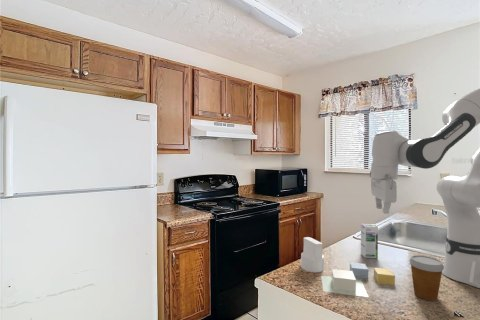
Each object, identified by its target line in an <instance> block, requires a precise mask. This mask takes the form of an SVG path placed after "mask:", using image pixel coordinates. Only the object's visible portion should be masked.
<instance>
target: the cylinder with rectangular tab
mask: <svg viewBox="0 0 480 320" xmlns="http://www.w3.org/2000/svg"><path fill="white" fill-rule="evenodd" d="M302 250H303V252H301V253H300V255H301V256H300V267H301V269H302V270H303V271H306V272H309V273H310V272H311V273H321V272H323V271H324V270H325V255H324V254H323V243H322V242H321V241H319V240H317V239H315V238H312V237H310V236H306V237H303V249H302Z"/></svg>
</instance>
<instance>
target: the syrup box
mask: <svg viewBox="0 0 480 320" xmlns="http://www.w3.org/2000/svg"><path fill="white" fill-rule="evenodd" d="M378 249H379V227H378V226H377V225H376V224H374V223H370V224H369V223H361V224H360V255H361V256H362V257H364V259H366V258H367V259H368V258H369V259H378V258H379V255H378V254H379V250H378Z"/></svg>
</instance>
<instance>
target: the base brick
mask: <svg viewBox="0 0 480 320" xmlns="http://www.w3.org/2000/svg"><path fill="white" fill-rule="evenodd" d="M331 277H332V284H333V289H337V290H345V291H353V292H356V280H357V279H356V277H355V276H354V274H353V271H350V270H345V269H336V268H335V269H334V268H331Z"/></svg>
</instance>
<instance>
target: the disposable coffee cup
mask: <svg viewBox="0 0 480 320" xmlns="http://www.w3.org/2000/svg"><path fill="white" fill-rule="evenodd" d="M408 261H409V265H410V269H411V277H412V285H413V286H412V287H413V294H414V295H415V296H416V297H418V298H420V299H422V300H426V301H432V302H433V301H437V300H438V296H439V293H440V285H441V279H442V275H443V273H442V271H443V269H444V266H443V265H444V264H443V261H441V260H440V259H438V258H435V257H431V256H428V255H422V254H414V255H411V256H410V259H408Z"/></svg>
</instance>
